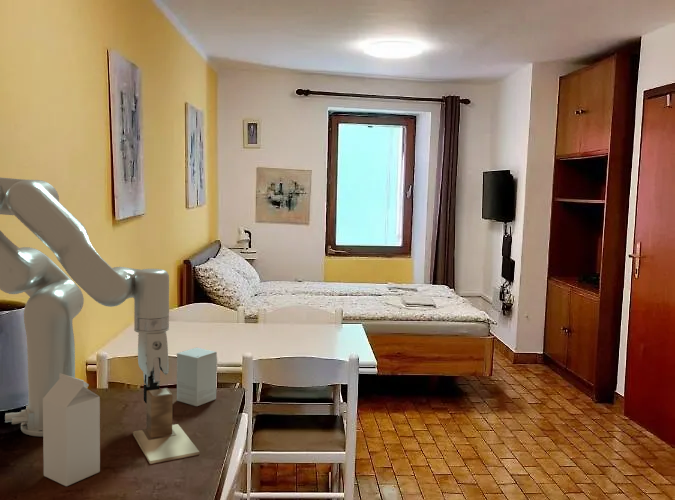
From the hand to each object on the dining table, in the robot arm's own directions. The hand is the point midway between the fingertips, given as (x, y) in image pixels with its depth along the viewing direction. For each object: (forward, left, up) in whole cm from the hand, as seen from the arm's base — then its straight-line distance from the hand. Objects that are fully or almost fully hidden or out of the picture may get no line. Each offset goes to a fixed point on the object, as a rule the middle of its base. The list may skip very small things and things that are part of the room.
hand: (151, 401), depth 139 cm
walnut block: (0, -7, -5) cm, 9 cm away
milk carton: (-19, -18, -5) cm, 27 cm away
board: (0, -12, -5) cm, 13 cm away
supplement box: (+14, +11, -5) cm, 18 cm away
